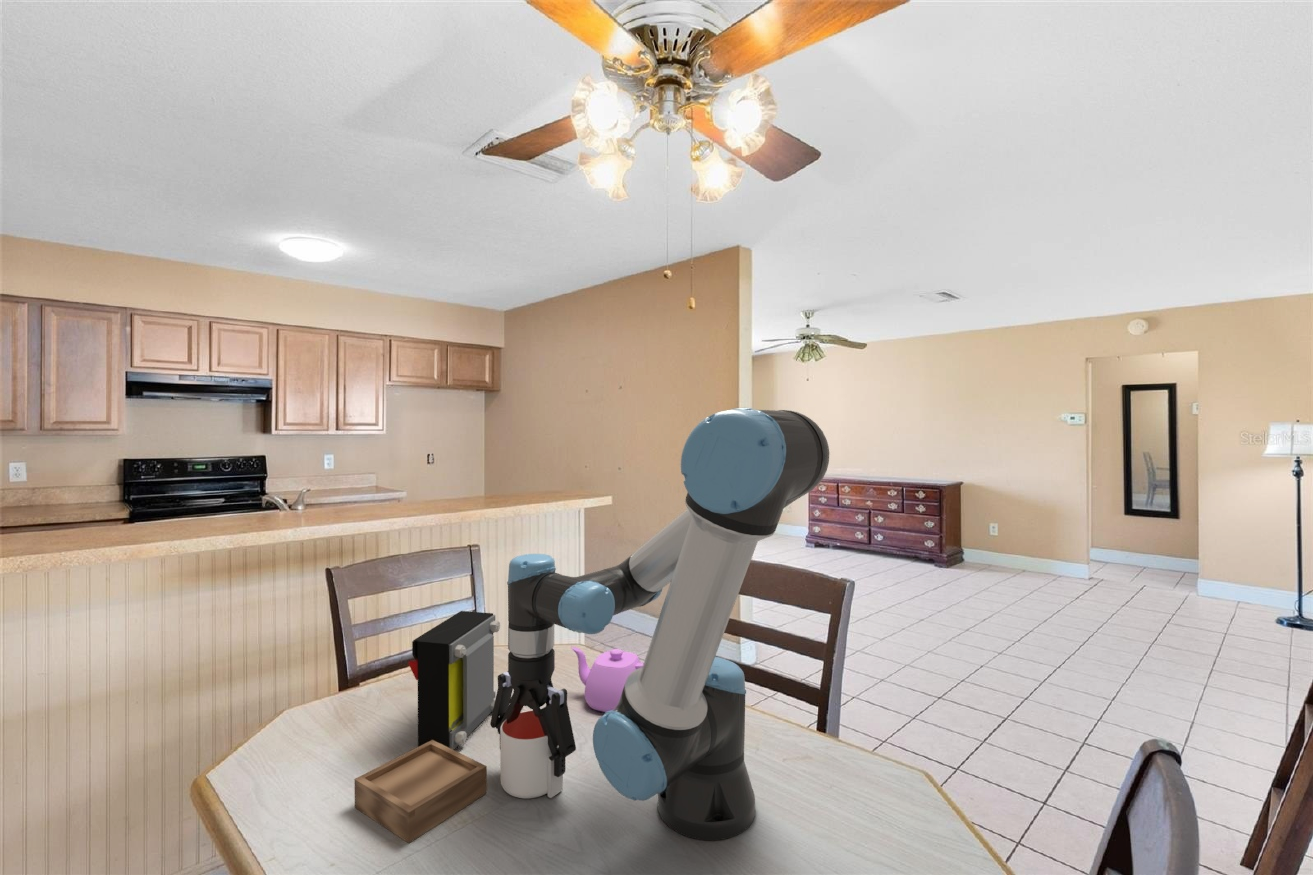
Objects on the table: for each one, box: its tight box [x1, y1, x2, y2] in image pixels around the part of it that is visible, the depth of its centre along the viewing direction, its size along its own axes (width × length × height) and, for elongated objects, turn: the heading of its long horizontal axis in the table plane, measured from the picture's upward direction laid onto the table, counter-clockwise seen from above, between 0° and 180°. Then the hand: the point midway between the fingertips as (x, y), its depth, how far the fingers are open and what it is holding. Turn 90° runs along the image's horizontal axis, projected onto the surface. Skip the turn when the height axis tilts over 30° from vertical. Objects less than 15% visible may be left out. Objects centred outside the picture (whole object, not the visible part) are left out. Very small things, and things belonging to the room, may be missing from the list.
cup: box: [499, 709, 559, 799], centre depth 101 cm, size 10×10×10 cm
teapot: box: [570, 646, 644, 713], centre depth 130 cm, size 13×20×11 cm, turn 73°
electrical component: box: [408, 610, 501, 750], centre depth 119 cm, size 18×10×20 cm, turn 168°
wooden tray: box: [354, 740, 488, 844], centre depth 96 cm, size 14×14×4 cm
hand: (531, 781), depth 101 cm, fingers closed on cup, 10 cm apart
